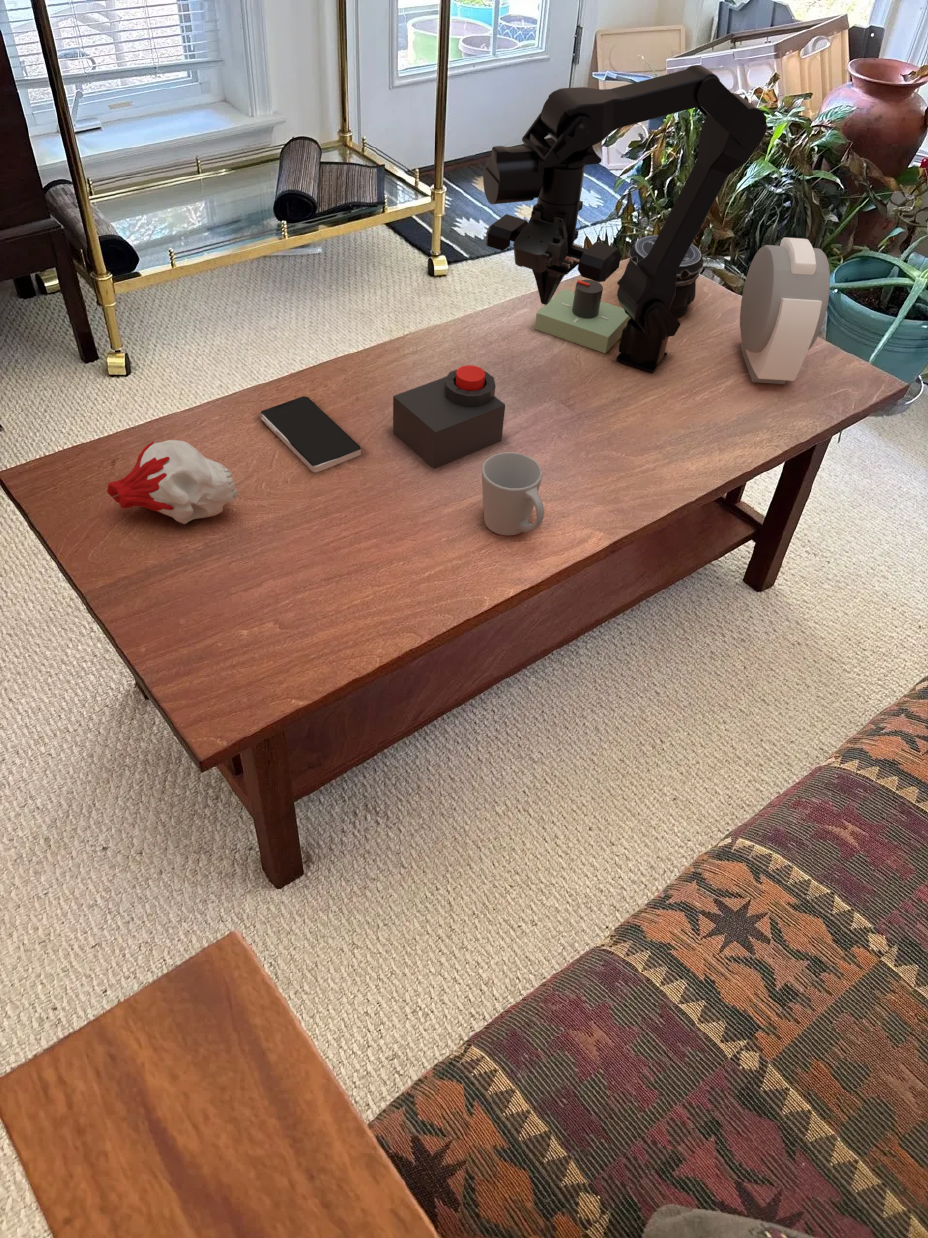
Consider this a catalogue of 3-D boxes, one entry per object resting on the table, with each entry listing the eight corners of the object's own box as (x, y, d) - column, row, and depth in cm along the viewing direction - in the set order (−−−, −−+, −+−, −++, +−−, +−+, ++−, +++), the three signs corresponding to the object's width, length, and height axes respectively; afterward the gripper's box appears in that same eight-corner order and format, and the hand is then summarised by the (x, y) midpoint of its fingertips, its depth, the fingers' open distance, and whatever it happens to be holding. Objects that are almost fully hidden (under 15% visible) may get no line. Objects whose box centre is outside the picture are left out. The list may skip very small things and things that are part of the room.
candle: (246, 517, 121) (129, 555, 117) (225, 464, 127) (114, 499, 124) (229, 462, 114) (104, 501, 110) (207, 410, 120) (89, 445, 117)
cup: (510, 496, 127) (516, 444, 121) (558, 538, 122) (568, 486, 116) (465, 516, 124) (469, 464, 118) (513, 560, 119) (520, 508, 113)
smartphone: (312, 467, 127) (257, 411, 135) (313, 474, 128) (258, 418, 136) (363, 447, 131) (306, 394, 139) (363, 454, 132) (307, 401, 140)
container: (698, 296, 168) (712, 241, 161) (683, 330, 160) (697, 274, 153) (629, 280, 171) (639, 225, 164) (610, 312, 163) (620, 256, 155)
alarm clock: (799, 398, 148) (844, 275, 133) (745, 394, 148) (785, 271, 133) (776, 337, 160) (815, 219, 145) (726, 334, 160) (760, 215, 145)
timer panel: (629, 327, 160) (633, 310, 157) (605, 353, 154) (608, 336, 151) (561, 304, 164) (563, 287, 161) (534, 328, 158) (536, 311, 155)
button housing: (464, 404, 141) (468, 357, 136) (506, 438, 136) (512, 391, 130) (392, 432, 136) (393, 384, 130) (433, 469, 130) (435, 420, 125)
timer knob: (602, 310, 157) (607, 282, 154) (591, 321, 154) (596, 293, 151) (579, 302, 158) (583, 274, 155) (567, 313, 156) (571, 285, 152)
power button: (472, 372, 134) (473, 361, 132) (490, 386, 132) (491, 375, 130) (449, 381, 132) (450, 370, 131) (467, 395, 130) (467, 384, 128)
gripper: (469, 198, 126) (462, 306, 137) (596, 237, 120) (578, 346, 132) (509, 171, 133) (499, 276, 144) (631, 207, 127) (611, 313, 138)
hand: (545, 303), depth 139 cm, fingers closed
